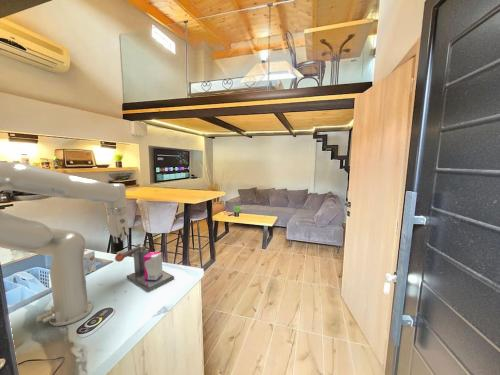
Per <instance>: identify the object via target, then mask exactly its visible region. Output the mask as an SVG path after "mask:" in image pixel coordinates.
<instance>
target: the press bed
mask: <svg viewBox="0 0 500 375" xmlns="http://www.w3.org/2000/svg"><path fill="white" fill-rule="evenodd" d="M148 253H150V251H149V250H148V249H145V250H144V251H138V252H136V253H133V263H134V265H133V266H134V272H133V273H131V274H128V275H126V279H127V280H129V281H130V282H131V283H133V284H135V285H136V286H137V287H139V288H140V289H142V290H143V291H145V292H146V293H150V292H152V291H154V290H157V289H158V288H160V287H162V286H164V285H166V284H168V283H170V282H172V281H175V276H174V275H172V274H171V273H169V272H166V271H164V270H162V272H163V275H162V276H161V277H160V278H159V279H158V280H157V281H148V280H145V270H144V256H145V255H147V254H148Z"/></svg>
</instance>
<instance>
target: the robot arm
mask: <svg viewBox="0 0 500 375" xmlns="http://www.w3.org/2000/svg"><path fill="white" fill-rule="evenodd" d="M2 191H15V192H21V193H26V194H27V193H28V194H32V195H33V194H34V195H39V196H40V195H41V196H45V197H46V196H47V197H53V198H59V199H68V200H69V199H71V200H72V199H73V200H74V199H75V200H85V201H87V202H89V203H96V204H97V203H100V204H106V216H108V218H107V219H108V220H107V222H108V223H107V224H108V234H109V235H110V236H112V239H113V247H114V252H117V253H118V252H121V251H123V250H124V241H125V240H126V236H129V234H130V230H129V229H130V228H129V220H128V216H127V214H128V213H127V212H128V211H127V193H126V192H127V190H126V185H125V184H124V183H119V182H118V183H117V182H113V183H109V182H108V183H107V182H104V181H99V180H95V179H90V178H86V177H80V176H76V175H73V174H67V173H64V172H59V171H55V170H51V169H47V168H45V167H44V168H43V167H41V166H37V165H32V164H28V163H23V162H18V161H17V162H15V161H9V162H8V161H1V162H0V192H2ZM0 247H1V248H3V249H6V250H10V251H11V250H13V251H17V252H24V253H30V254H36V255H42V256H47V257H50V258H52V262H51V265H50V268H49V278H50V285H51V293H52V294H51V296H52V302H53V304H52V306H51V307H50V309H49V310H48V311H47V312H45V313H43V314H39V315H37V316H35V321H36V323H40V322H42V323H43V324H44V323H47V322H49V324H50V325H51V326H54V327H60V326H67V325H71V324H73V323H75V322H79V320H82V319H83V318H84V319H85V317H86V316H88V315H89V314H90V313H91V312H92V311H93V310H94V302H92V301H91V300H88V291H87V290H88V289H87V281H86V275H85V268H84V252H85V249H86V239H85V237H84V236H83V235H82V234H81V233H80V232H78V231H75V230H68V229H62V228H61V229H59V228H52V227H49V226H47V225H45V224H44V223H42V222H39V221H36V220H31V219H25V218H23V217H20V216H15V215H12V214H10V213H6V212H5V211H2V210H1V209H0Z"/></svg>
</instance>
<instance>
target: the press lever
mask: <svg viewBox="0 0 500 375" xmlns="http://www.w3.org/2000/svg"><path fill="white" fill-rule="evenodd" d="M144 250H147V249H146V246H145V245H143V244H140V243H138V244H136V247H134V248H132V249H130V250H127V251H126V252H123V253H122V252H121V253H117V254H116V255H115V257H114V260H115V262H122V261H124V259H125V258H127V257H129V256H132V255H134V253H136V252H138V251H144Z"/></svg>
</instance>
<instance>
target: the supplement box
mask: <svg viewBox="0 0 500 375" xmlns="http://www.w3.org/2000/svg"><path fill="white" fill-rule="evenodd" d="M162 256H163V254H162V252H160V251H159V252H158V251H149V253H148V254H147V255H145V256H144V270H145V280H148V281H157V280H158V279H159V278H160V277H161V276H162V275H163V272H162V271H163V259H162V258H163V257H162Z"/></svg>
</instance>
